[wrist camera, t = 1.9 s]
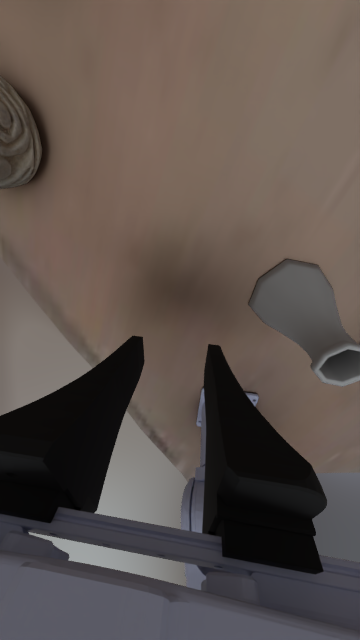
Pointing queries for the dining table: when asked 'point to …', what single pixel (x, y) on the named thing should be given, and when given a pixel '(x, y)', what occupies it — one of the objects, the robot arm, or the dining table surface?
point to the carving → (17, 139)
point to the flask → (308, 319)
